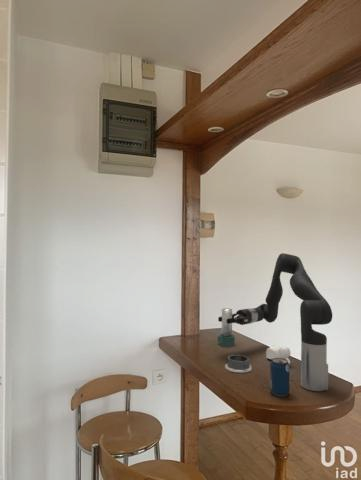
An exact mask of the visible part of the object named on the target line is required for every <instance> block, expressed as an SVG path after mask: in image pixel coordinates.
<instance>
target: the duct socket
mask: <svg viewBox="0 0 361 480" xmlns="http://www.w3.org/2000/svg"><path fill="white" fill-rule="evenodd" d="M252 368H253V367H252V365H251V364H250V357H249V356H246V355H242V354H231V355H227V363H225V365H224V369H225V370H226V371H227V372H229V373H235V374H247V373H250V372H251V371H252V370H253V369H252Z"/></svg>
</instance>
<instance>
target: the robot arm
mask: <svg viewBox="0 0 361 480" xmlns="http://www.w3.org/2000/svg"><path fill="white" fill-rule="evenodd" d="M282 273H287V274H291V276H290V279H289V285H290V288H291V291H292V292H293V294H294V296H296V297H297V298H299V299H300V300H302V301H301V303H300V308H299V309H300V310H299V312H300V313H299V314H300V316H299V317H300V338H301V342H300V343H301V344H300V345H301V347H300V351H301V352H300V358H301V359H300V385H301V387H302V388H303V389H306V390H307V391H308V390H309V391H313V392H323V391H329V364H328V363H327V362H328V361H327V360H328V359H327V355H328V354H327V353H328V352H327V351H328V350H327V346H328V345H327V344H328V342H327V341H328V339H327V336H326V334H324V333H321V332H318V331H317V330H314V329H313V325H316V326H317V325H318V326H321V325H322V326H323V325H328V324H330V323H331V322H332V320H333V312H332V311H333V310H332V308H331V306H330V304H329V302H328V301H327V300H326V298H325V297H324V296H323V295H322V294H321V293H320V292H319V290H318V289H317V287H316V285H315V284H314V282H313V280H312V279H311V277H310V276H309V275H308V274H309V273H307V271H306V270H305V267H304V265H303V262H302V260H301V258H300V257H299V256H297V255H294V254H289V253H283V252H282V253H280V254H279V255H278V257H277V259H276V261H275V265H274V271H273V274H272V277H271V283H270V286H269V290H268V291H267V295H266V297H265V303H261V304H259V305H258V306H257V307H254V308H253V307H252V308H242V309H238V310H237V311H236V312H235V313H232V318H229V319H227V324H230V323H232V324H237V325H241V326H245V325H250V324H253V323H257V322H261V321H263V320H265V321H266V322H267V323H270V324H271V323H273V322H275V321H276V320H277V318H278V315H279V314H278V313H279V304H280V303H281V300H282V298H283V292H284V291H283V290H284V289H283V285H282V281H281V274H282ZM218 322H220V323H222V316H218Z"/></svg>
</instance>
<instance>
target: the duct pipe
mask: <svg viewBox="0 0 361 480" xmlns="http://www.w3.org/2000/svg"><path fill="white" fill-rule="evenodd" d="M232 314H233V309H232V308H222V309H221V317H222V321H221V334H222V335H225V336H230V335H232V334H233V323H230V324H227V319H229V318H232Z"/></svg>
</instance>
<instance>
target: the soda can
mask: <svg viewBox="0 0 361 480" xmlns="http://www.w3.org/2000/svg"><path fill="white" fill-rule="evenodd" d="M290 368H291V367H290V364H288V360H286V359H282V358H273V359H271V362H270V365H269V373H270V374H269V390H270V392H271V394H273V395H274V396H276V397H286V396H288V394H289V393H290V383H291V382H290V380H291V379H290V374H291V373H290V372H291V370H290Z"/></svg>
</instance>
